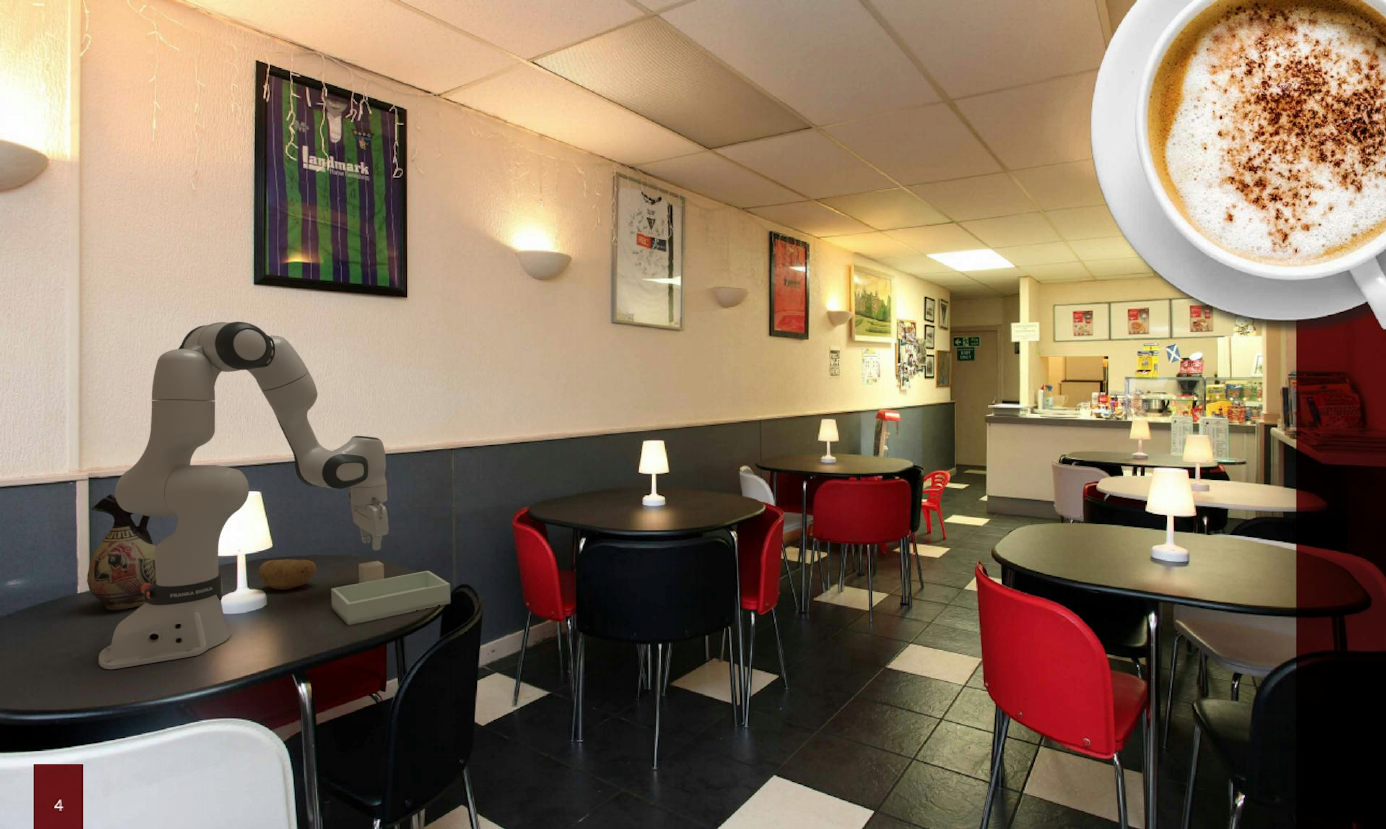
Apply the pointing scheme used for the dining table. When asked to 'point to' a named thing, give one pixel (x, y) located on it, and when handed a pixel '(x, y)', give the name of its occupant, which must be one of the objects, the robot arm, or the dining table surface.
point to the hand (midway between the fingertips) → (371, 545)
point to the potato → (286, 573)
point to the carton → (371, 571)
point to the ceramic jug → (122, 559)
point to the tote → (389, 597)
